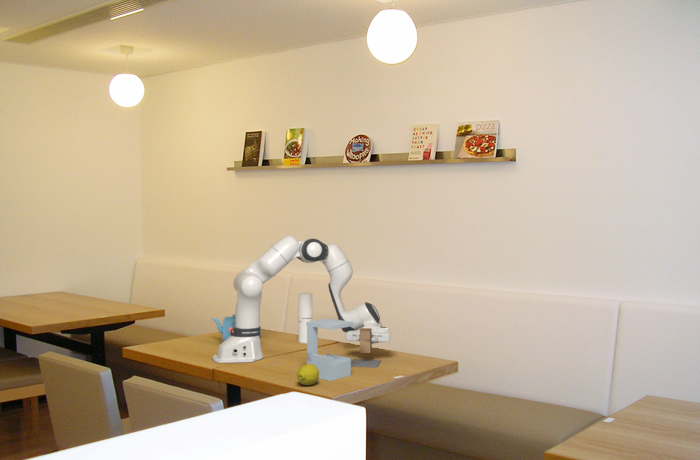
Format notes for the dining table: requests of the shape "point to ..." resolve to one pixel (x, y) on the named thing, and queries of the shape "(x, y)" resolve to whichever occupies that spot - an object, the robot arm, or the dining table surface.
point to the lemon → (308, 374)
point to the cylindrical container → (304, 315)
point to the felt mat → (365, 363)
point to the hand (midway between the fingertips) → (365, 339)
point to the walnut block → (365, 340)
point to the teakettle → (225, 326)
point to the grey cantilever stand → (329, 364)
